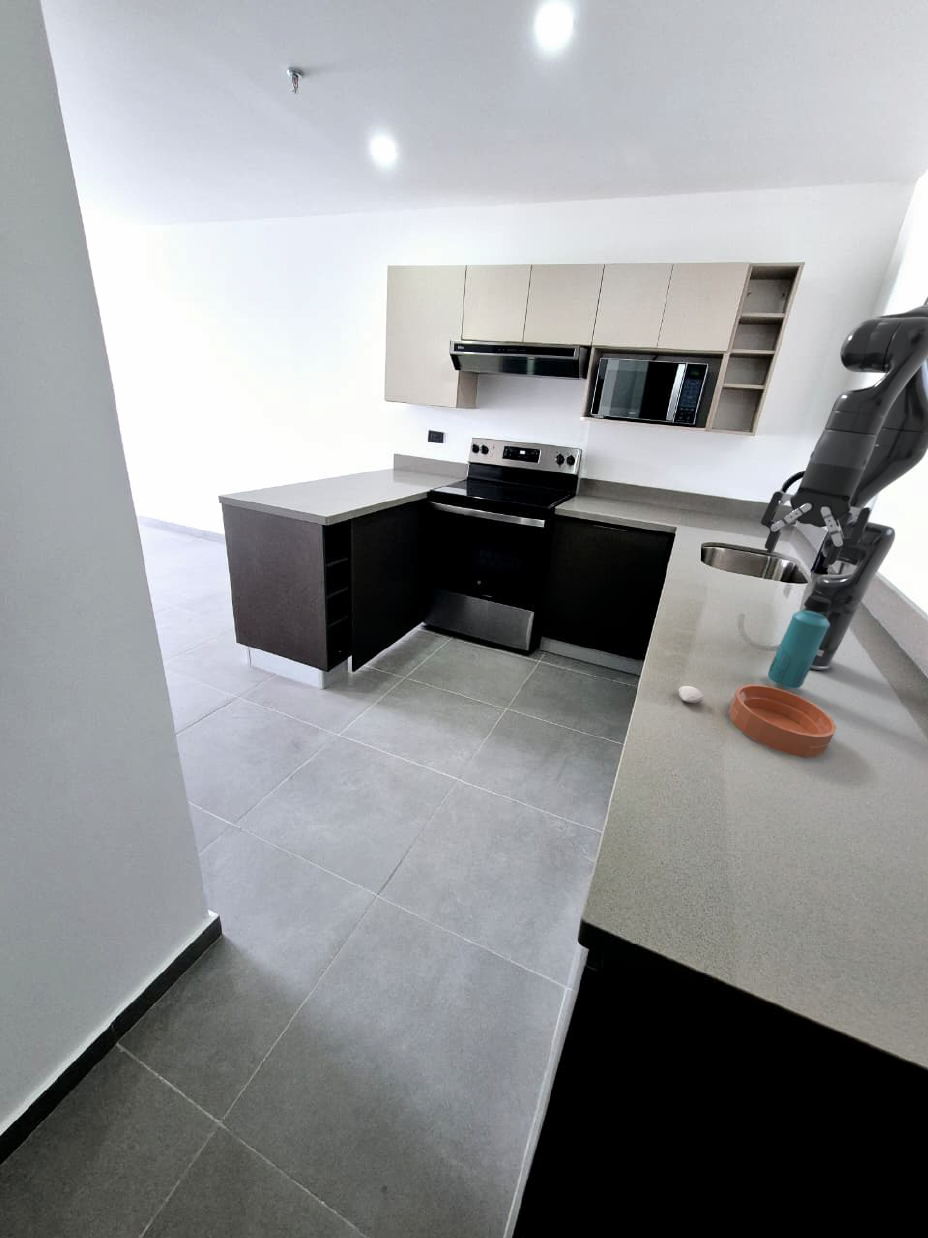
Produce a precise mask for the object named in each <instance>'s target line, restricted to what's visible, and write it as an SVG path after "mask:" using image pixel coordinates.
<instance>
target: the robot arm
mask: <svg viewBox="0 0 928 1238" xmlns="http://www.w3.org/2000/svg"><path fill="white" fill-rule="evenodd" d="M839 353H840V354H839V358H840V362H841V364H842V367H844V368H845V369H846V370H848V371H849V372H853V373H864V374H865V373H866V374H867V373H868V374H884V375H883V376H882V378H880V379H879V380H878V381H877V382H876V383H874V384H873V385H871V386H867V387H863V388H856V389H849V390H845V391H842V392H841V393H840V394H838V396H837V397H836V398H835V401H834V404H833V406H832V408H831V411H830V413H829V416H828V417H827V421H826V423H825V426H824V429H823V431H822V433H821V435H820V436H819V438H818V440H817V442H816V444H815V446H814V449H813V450H812V452H811V453H810V455H809V461H808V463H807V466H806V467H805V471H804V473H803V476H802V478H801V481H800V484H799V485H798V488H797V490H796V492H795V493H794V494H791V493H786V492H784V491H783V490H778V491H777V490H776V491H775V492H774V493H773V494H772V496H771V498H770V500H769V503H768V505H767V508H766V510H765V512H764V514H763V516H762V518H761V520H760V524H761V525H762V526H765V528H767V529H769V533H768V536H767V538H766V541H765V543H764V549H766V553H767V554H773V553H774V551H775V549H776V547H777V544H778V541H779V539H780V537H781V534H782V531H781V529H783V528H784V527H786V526H788V525H790V524H791V523H794V521H797V522H798V523H799V524H802V525H812V526H813V527H816V528H825V527H826V528H827V531H828V532H827V533H826V536H825V539H824V541H823V544H822V555H823V556H824V557H825V558H824V561H823V563H822V566H821V567H822V568H828V567H829V566H833V565H834V564H835V563H836V562H840V563H843V564H846V565H851V566H854V567H855V569H854V571H853V572H850V573H844V574H822V575H819V576H818V577H817V578H816V579H815V581H814V583H813V586H812V588H811V590H810V593H809V594H808V597H809V596H811V595H813V596H819V597H823V598H826V599H828V600H830V601H831V602H832V603H831V606H830V610H829V612H819V611H815V610H812V609H809V608H807V607H805V606H804V605H803V608H802V610H807V611H812V612H816V613H819V614H821V615H823V616H825V617H826V618H827V620H828V622H829V623H830V626H829V627H828V629H827V631H826V633H825V636H824V638H823V640H822V642H821V644H820V647H819V649H818V651H817V654H816V656H815V658H814V660H813V663H812V664H811V667H810V668H811V669H810V670H814V671H815V670H816V671H828V670H829V668H830V666H831V663H832V661H833V659H834V657H835V655H836V654H837V651H838V649H839V647H840V645H841V643H842V641H843V639H844V638H845V636H846V634H847V632H848V630H849V627H850V625H851V623H852V622H853V620H854V618H855V616H856V613H857V611H858V609H859V608H860V605H861V603H862V602H863V600H864V597H865V595H866V593H867V592H868V590H869V588H870V587H871V585H872V582H873V581H874V578H875V577H876V574H877V573H878V571H879V569H880V568H881V566H882V564H883V562H884V561H885V558H886V557H887V556H888V554H889V552H890V550H891V548H892V546H893V544H894V543H895V539H896V530H895V528H893V527H891V526H889V525H884V524H881V523H876V522H871V521H869V519H870V516H871V514H872V508H871V507H868V506H867V505H868V503H869V502H870V501H871V500H872V499H874V497H876V496H877V495H878V494H879V493H881V492H882V491H883V490H884V489H886V488H887V487H888V486H890V485H891V484H893V483H894V482H896V481H897V480H898V479H900V478H902V477H903V476H904V475H906V474H907V473H909V472H910V471H911V470H912V469H914V468H915V467H916V466H917V465H918V464H919V463H920V462H921V461H922V460H923V459H924V457H926V456H925V455H926V453H927V451H928V296H927V297H926V298H925V301H924V303H923V304H922V305H919V306H917V307H914V308H912V309H910V310H907V311H905V312H900V313H893V314H886V315H879V316H874V317H870V318H867V319H865V320H863V321H861V322H860V323H859V324H857V325H856V326H855V327H853V328H852V330H851V331H849V333H848V334H847V336H846V337H845V339H844V340H843V342H842V345H841V349H840V352H839ZM788 501H789V503H790V506H791V508H792V512H790V513H789V514H787V515H786V516H784V517H782V518H781V519H780V520H778V521H775V520H774V518H775V516H776V514H777V512H778V510H779V508H780V506H783V505H785V504H786V503H787V502H788Z"/></svg>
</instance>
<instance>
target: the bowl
mask: <svg viewBox="0 0 928 1238" xmlns="http://www.w3.org/2000/svg"><path fill="white" fill-rule="evenodd" d="M728 717H729V718H730V720H731V722H732V724H733V725H735V726H736V728H738V729H739V730H740V731H741V732H742V733H743V734H745V735H746V736H748V737H750V738H751V739H752V740H754V741H755V742H758V743H760V744H762V745H763V746H766V747H768V748H770V749H772V750H775V751H778V752H781V753H784V754H787V755H792V756H797V757H802V758H803V757H804V758H806V757H807V758H808V757H818V756H820V755H822V754H824V753H825V751H826V750H827V748H828V747H829V744H830V743H831V741H832V738H833V737H834V736H835V733H836V730H837V726H836V723H835V721H834V719H833V718H832V717H831V716H830V715H829V714H828V713H827V712H826V711H825V710H823V709H822V708H820V707H819V706H818V705H816V704H815V703H813V702H811V701H809V700H807V699H806V698H804V697H802V696H799V695H797V694H794V693H793V692H790V691H788V690H784V689H781V688H777V687H774V686H770V685H763V684H744V685H741V686H739V687H738V688H737V689H736V690H735V693H734V695H733V697H732V700H731V702H730V705H729V706H728Z"/></svg>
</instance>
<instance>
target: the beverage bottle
mask: <svg viewBox="0 0 928 1238" xmlns="http://www.w3.org/2000/svg"><path fill="white" fill-rule="evenodd" d="M831 603H832V602H831V601H830V600H828V599H826V598H823V597H819V596H813V595H811V596H809V595H808V596H807V599H806V600H805V601H804V604H803V607H804V606H805V607H807V608H809V609H812V610H815V611H819V612H829V610H830V606H831ZM829 626H830V623H829V622H828V620H827V618H826V617H825V616H823V615H821V614H819V613H816V612H812V611H807V610H803V609H802V610H799V611H796V612H794V613H793V614H792V616H791V619H790V622H789V624H788V626H787V628H786V631H785V633H783V634H784V635H783V636H782V639H781V641H780V644H779V645H778V646H779V647H777V649H776V652H775V655H774V656H773V658H772V662H771V663H770V665H769V668H768V671H767V676H768V678H769V680H771V681H772V682H774V683H776V684H778V685H780V686H782V687H784V688H785V687H786V688H790V689H799V688H801V687H802V686H803V685H804V683H805V681H806V679H807V677H808V674H809V673H810V671H811V670H812V669H811V668H810V667H811V664H812V663H813V660H814V658H815V656H816V654H817V651H818V649H819V647H820V644H821V642H822V640H823V638H824V636H825V633H826V631H827V629H828V627H829Z"/></svg>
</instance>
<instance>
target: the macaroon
mask: <svg viewBox="0 0 928 1238" xmlns="http://www.w3.org/2000/svg"><path fill="white" fill-rule="evenodd" d="M677 692H678V696H679V697H680V699H681V700H682V701H684V702H687V703H689V704H700V703H701V702H702V701H703V699H704V695H703V693H702V692H701V691H700V690H699V689H698V688H696V687H694V686H691V685H682V686H680V688H679V689H678V691H677Z"/></svg>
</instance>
